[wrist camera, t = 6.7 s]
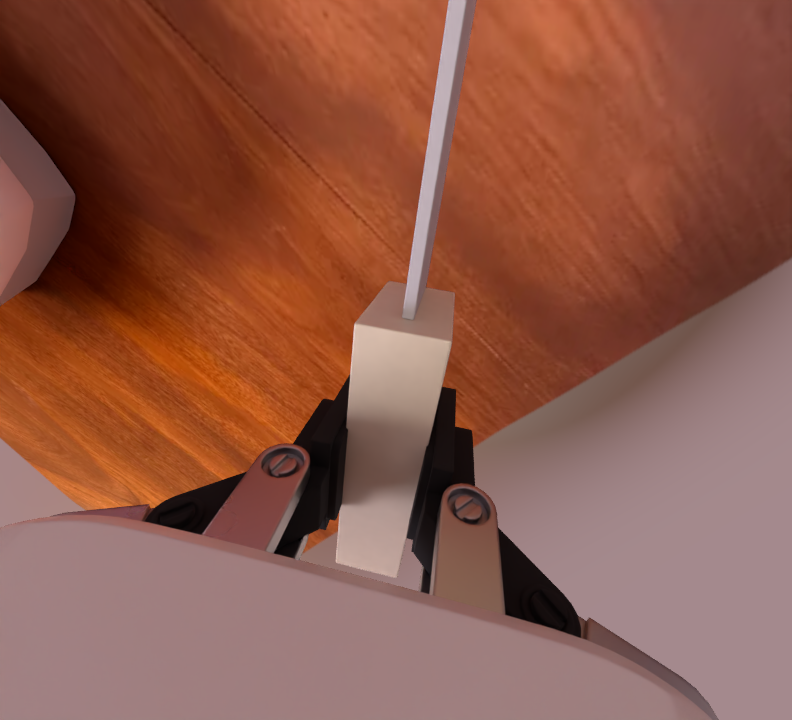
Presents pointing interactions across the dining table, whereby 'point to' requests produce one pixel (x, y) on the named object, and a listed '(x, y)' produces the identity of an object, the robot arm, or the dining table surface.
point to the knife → (402, 355)
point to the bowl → (28, 207)
